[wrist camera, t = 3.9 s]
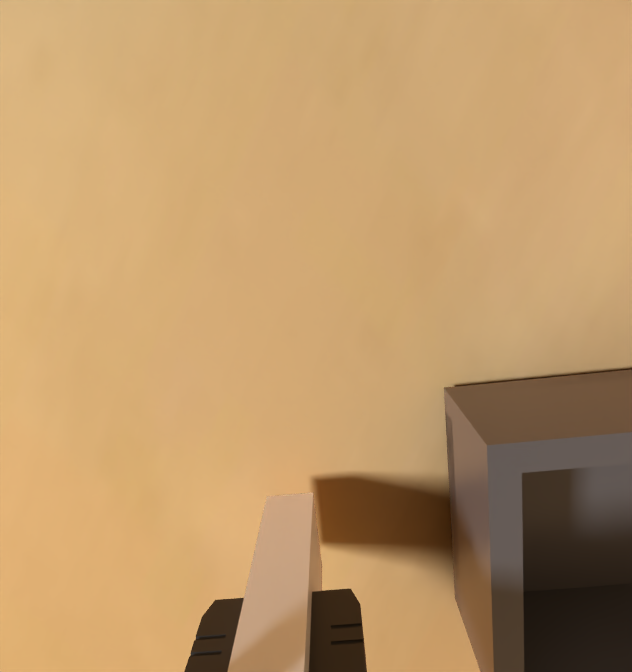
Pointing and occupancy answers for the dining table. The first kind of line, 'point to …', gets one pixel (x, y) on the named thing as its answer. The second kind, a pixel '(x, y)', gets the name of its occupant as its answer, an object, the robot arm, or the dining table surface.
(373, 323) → the dining table surface
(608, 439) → the dark grey open box
